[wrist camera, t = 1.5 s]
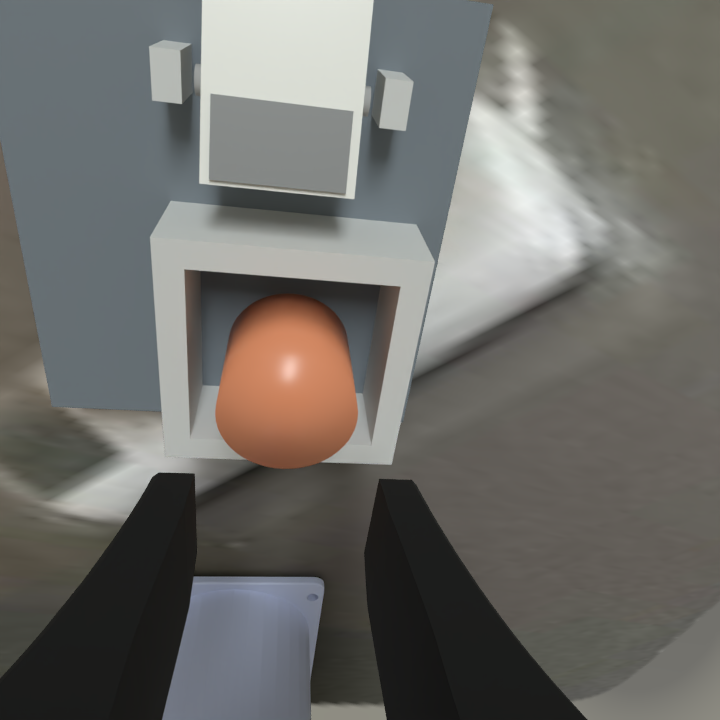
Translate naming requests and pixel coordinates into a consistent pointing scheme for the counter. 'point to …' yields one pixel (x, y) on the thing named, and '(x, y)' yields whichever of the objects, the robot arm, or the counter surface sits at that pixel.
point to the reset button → (287, 383)
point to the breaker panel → (219, 210)
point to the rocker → (283, 94)
